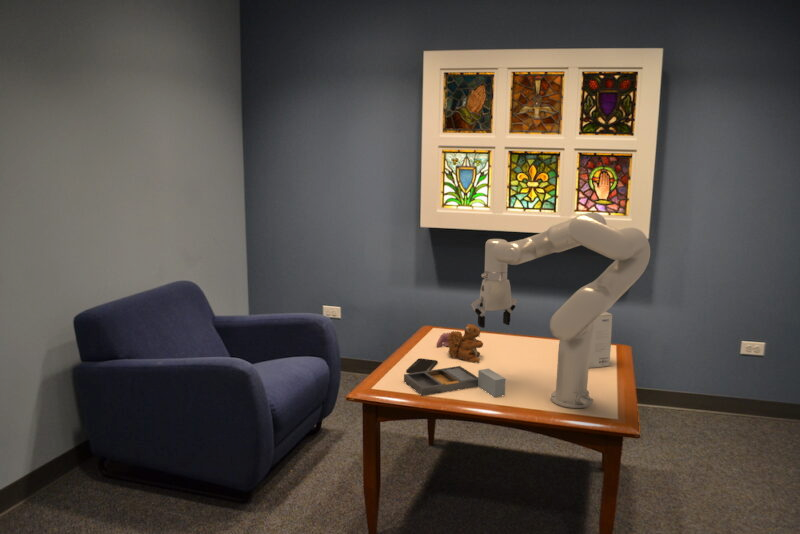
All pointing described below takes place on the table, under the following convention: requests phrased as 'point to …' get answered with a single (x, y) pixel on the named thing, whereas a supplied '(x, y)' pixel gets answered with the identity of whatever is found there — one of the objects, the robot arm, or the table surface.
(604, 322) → the grey carton box
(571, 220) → the robot arm
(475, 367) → the table surface
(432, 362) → the phone
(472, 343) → the stuffed squirrel
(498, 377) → the gray rectangular block
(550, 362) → the table surface
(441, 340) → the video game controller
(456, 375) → the gray divided tray
